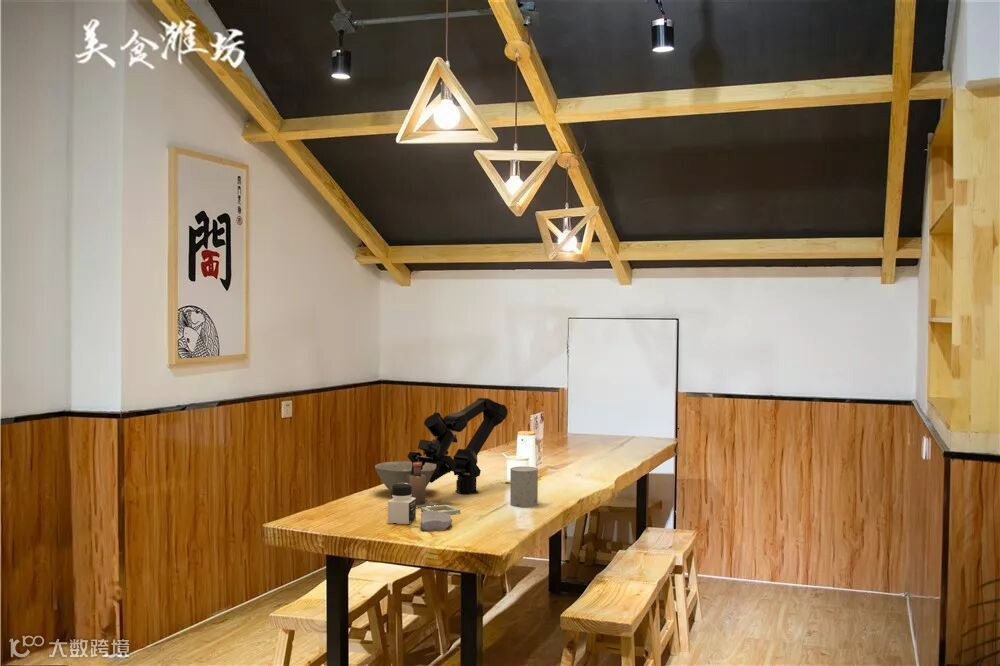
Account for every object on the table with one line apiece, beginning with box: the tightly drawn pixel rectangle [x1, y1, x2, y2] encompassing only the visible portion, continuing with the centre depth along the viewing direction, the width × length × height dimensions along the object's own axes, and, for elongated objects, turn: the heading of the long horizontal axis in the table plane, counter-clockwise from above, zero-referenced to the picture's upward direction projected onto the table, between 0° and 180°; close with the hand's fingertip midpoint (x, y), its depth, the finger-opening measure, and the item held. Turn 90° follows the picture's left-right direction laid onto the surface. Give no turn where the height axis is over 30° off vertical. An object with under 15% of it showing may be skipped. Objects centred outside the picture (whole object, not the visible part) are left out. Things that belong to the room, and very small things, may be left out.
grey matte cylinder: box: [509, 466, 539, 508], centre depth 310 cm, size 10×10×12 cm
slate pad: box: [416, 499, 438, 507], centre depth 309 cm, size 10×10×1 cm
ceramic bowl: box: [374, 460, 436, 492], centre depth 328 cm, size 22×23×10 cm
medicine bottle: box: [387, 483, 417, 525], centre depth 284 cm, size 7×7×12 cm
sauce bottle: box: [410, 462, 426, 505], centre depth 309 cm, size 5×5×14 cm
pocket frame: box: [420, 504, 461, 515], centre depth 297 cm, size 10×10×1 cm
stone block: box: [420, 510, 453, 532], centre depth 278 cm, size 12×5×10 cm
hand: (420, 480), depth 310 cm, fingers open, 8 cm apart
